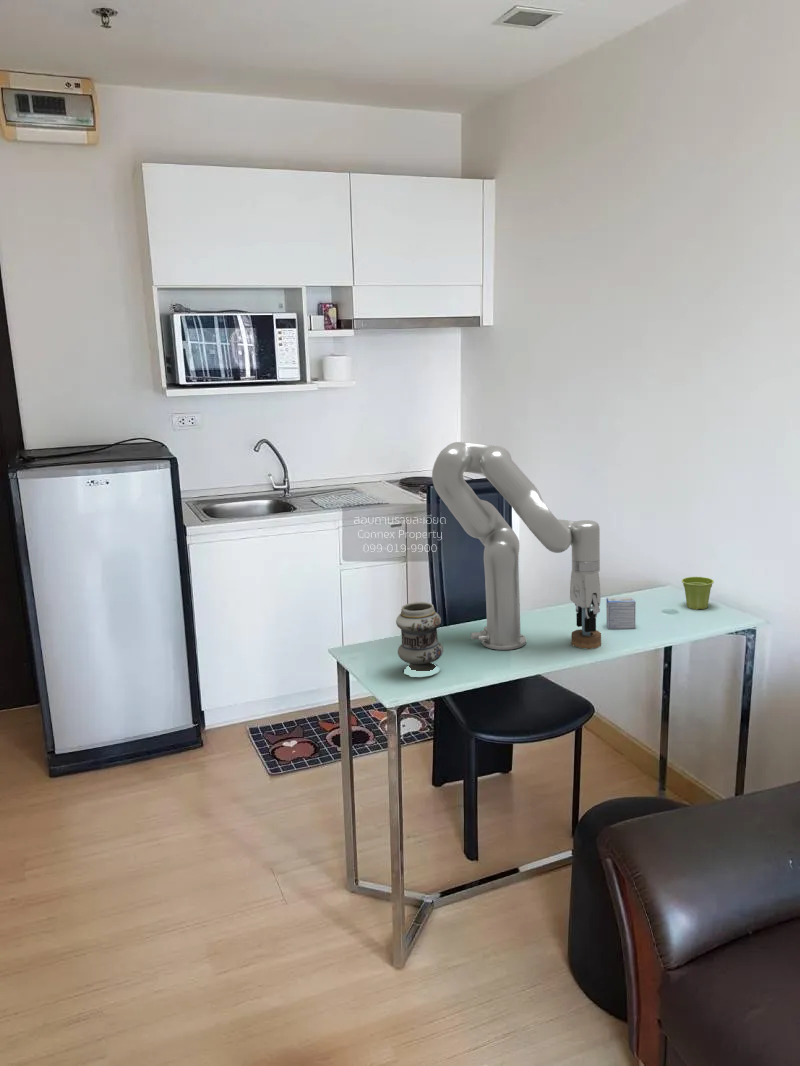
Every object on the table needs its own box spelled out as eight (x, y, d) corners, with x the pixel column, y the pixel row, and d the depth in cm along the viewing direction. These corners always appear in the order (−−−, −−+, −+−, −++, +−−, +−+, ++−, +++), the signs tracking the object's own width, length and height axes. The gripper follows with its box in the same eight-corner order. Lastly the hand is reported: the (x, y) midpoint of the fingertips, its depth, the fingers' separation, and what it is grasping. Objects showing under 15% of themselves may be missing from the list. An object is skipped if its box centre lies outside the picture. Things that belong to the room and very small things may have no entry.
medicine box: (633, 624, 243) (633, 596, 241) (635, 629, 239) (635, 600, 237) (606, 624, 244) (606, 597, 242) (608, 629, 239) (608, 601, 238)
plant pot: (703, 613, 249) (704, 586, 248) (675, 607, 256) (676, 581, 254) (718, 606, 255) (719, 579, 254) (690, 601, 262) (691, 575, 261)
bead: (579, 650, 224) (579, 640, 223) (566, 641, 231) (566, 631, 231) (606, 646, 226) (606, 636, 225) (592, 637, 233) (592, 627, 233)
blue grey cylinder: (584, 645, 227) (584, 604, 225) (580, 643, 229) (580, 602, 227) (592, 644, 228) (592, 603, 225) (588, 641, 230) (588, 601, 228)
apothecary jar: (418, 659, 223) (414, 597, 220) (453, 668, 216) (450, 603, 212) (389, 673, 214) (385, 608, 211) (424, 683, 207) (421, 615, 203)
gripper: (560, 560, 231) (560, 621, 235) (587, 574, 215) (587, 639, 219) (584, 557, 233) (584, 618, 236) (613, 570, 217) (613, 636, 220)
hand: (586, 627), depth 228 cm, fingers open, 4 cm apart
